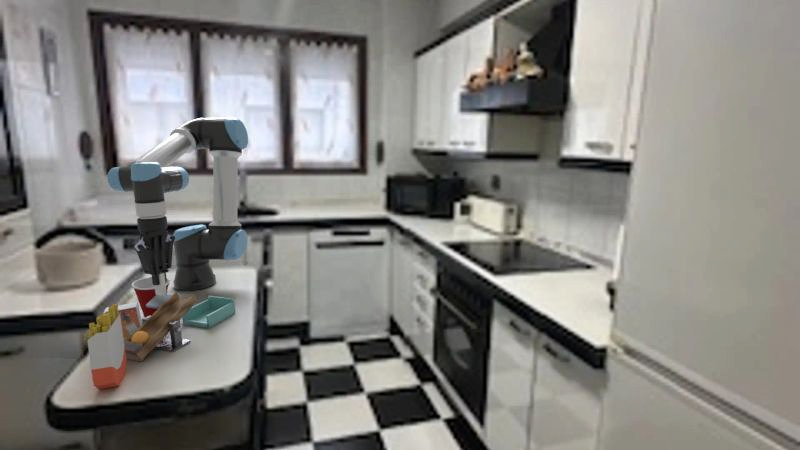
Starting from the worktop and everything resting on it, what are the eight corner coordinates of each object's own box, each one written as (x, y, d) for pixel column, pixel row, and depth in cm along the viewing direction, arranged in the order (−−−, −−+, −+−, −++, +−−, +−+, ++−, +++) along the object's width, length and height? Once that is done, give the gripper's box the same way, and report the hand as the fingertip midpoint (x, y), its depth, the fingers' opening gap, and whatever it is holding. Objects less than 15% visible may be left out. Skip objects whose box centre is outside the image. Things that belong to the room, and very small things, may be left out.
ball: (142, 339, 118) (138, 327, 117) (154, 341, 117) (150, 329, 116) (130, 348, 115) (125, 336, 113) (142, 350, 114) (137, 338, 112)
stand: (154, 335, 127) (151, 312, 126) (190, 342, 123) (187, 318, 122) (136, 345, 122) (133, 321, 120) (173, 351, 118) (170, 327, 116)
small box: (109, 349, 119) (101, 313, 117) (112, 342, 124) (105, 307, 122) (143, 342, 122) (136, 306, 120) (144, 335, 127) (138, 300, 125)
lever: (159, 296, 134) (154, 287, 132) (198, 302, 129) (193, 292, 127) (101, 353, 117) (93, 343, 115) (143, 362, 112) (136, 351, 110)
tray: (210, 309, 146) (209, 295, 145) (235, 313, 143) (234, 298, 142) (182, 324, 135) (181, 308, 134) (209, 328, 132) (207, 312, 131)
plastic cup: (157, 324, 135) (153, 288, 132) (128, 322, 137) (122, 285, 135) (181, 311, 145) (177, 276, 143) (153, 308, 147) (149, 275, 145)
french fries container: (93, 396, 98) (81, 321, 94) (107, 372, 108) (96, 303, 104) (116, 392, 99) (105, 318, 96) (128, 368, 109) (118, 301, 106)
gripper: (160, 212, 133) (168, 285, 137) (121, 219, 121) (132, 300, 125) (179, 213, 130) (187, 288, 135) (142, 221, 118) (152, 303, 123)
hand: (161, 294), depth 130 cm, fingers closed
